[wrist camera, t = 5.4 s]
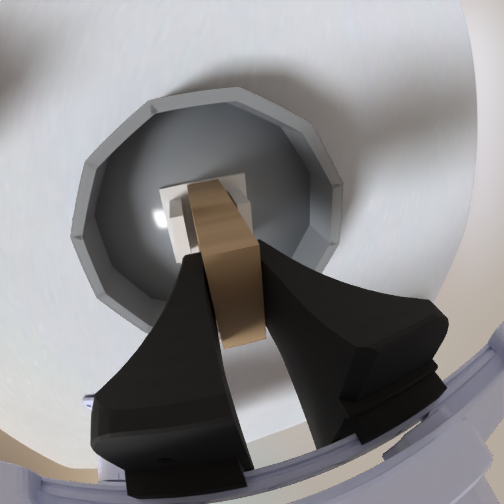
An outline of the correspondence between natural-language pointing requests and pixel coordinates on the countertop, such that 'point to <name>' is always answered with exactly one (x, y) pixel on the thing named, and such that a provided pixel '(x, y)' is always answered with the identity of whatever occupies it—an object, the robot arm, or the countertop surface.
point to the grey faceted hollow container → (195, 171)
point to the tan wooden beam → (229, 264)
